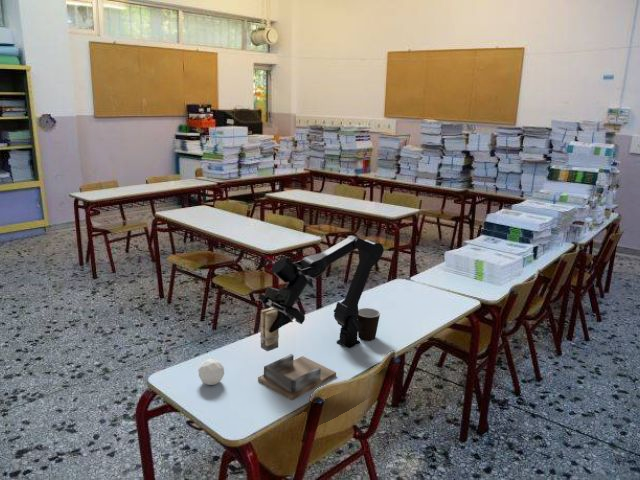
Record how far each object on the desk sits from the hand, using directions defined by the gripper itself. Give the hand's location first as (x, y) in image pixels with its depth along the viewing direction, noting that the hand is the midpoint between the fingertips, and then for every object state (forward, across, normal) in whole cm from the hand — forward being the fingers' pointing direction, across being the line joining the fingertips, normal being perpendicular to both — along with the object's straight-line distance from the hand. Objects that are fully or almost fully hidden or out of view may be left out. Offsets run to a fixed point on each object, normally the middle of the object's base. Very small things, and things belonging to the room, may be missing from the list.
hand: (266, 330), depth 164 cm
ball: (+23, -3, -4) cm, 23 cm away
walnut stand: (+7, +12, +12) cm, 18 cm away
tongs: (+4, 0, +6) cm, 7 cm away
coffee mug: (-21, +5, +41) cm, 47 cm away
